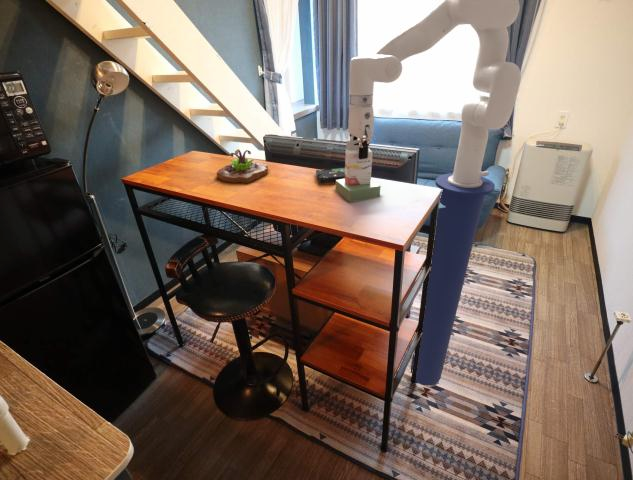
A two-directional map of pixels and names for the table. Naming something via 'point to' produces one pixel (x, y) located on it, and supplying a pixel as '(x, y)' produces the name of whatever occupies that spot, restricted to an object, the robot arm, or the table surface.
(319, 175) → the disk drive
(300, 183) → the table surface
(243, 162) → the plant
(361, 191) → the green block
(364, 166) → the ink cartridge box
